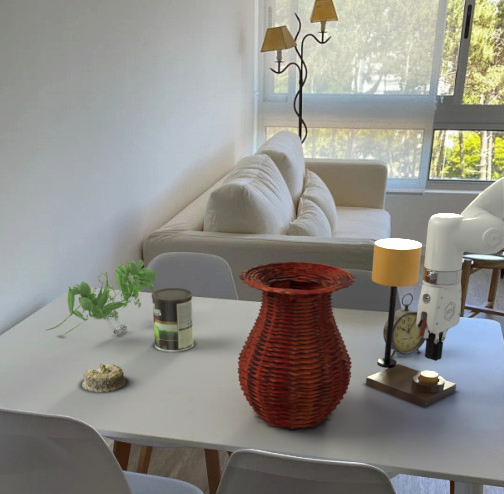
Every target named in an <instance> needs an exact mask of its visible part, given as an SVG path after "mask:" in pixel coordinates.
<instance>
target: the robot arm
mask: <svg viewBox="0 0 504 494" xmlns="http://www.w3.org/2000/svg"><path fill="white" fill-rule="evenodd" d="M503 219H504V176H502V177H501V178H499V179H497V180H496V181H495V182H493V183H492V184H490V185H489V186H487V187H486V188H485V189H484V190H483V191H482V192H480V193H479V194H478V196H476V198H475V199H473V200H472V202H471V203H469V204H468V205H467V206H466V207H465V208H464V210H463V211H462V212H461V213H460V214H457V213H437V214H434V215H432V216H431V217H430V218H429V220H428V223H427V230H426V231H427V233H426V241H425V242H426V243H425V252H424V263H423V272H422V273H423V274H422V286H421V290H420V294H419V299H418V305H417V310H416V312H417V328H418V329H420V333H419V337H421V338H424V339H425V341H424V342H425V348H424V349H425V351H424V357H425V359H429V360H432V361H435V362H437V361H439V360H441V359H442V356H443V348H444V342H445V340H446V336H447V332H448V331H449V330H450V329H452V328H454V327H456V326H458V325H459V323H460V319H461V311H462V310H461V309H462V283H461V276H462V267H463V261H464V260H463V259H464V253H470V254H478V255H493V254H497V253H498V252H501V251H502V250H503V249H504V220H503Z"/></svg>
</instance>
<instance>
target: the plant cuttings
mask: <svg viewBox="0 0 504 494" xmlns="http://www.w3.org/2000/svg"><path fill="white" fill-rule="evenodd" d="M127 264H128V266H127V265H125V264H123V263H120V265H117V267H116V269H115V280H116V284H117V286H118V287H119V289H120V290H119V291H118V292H117V293H116V291H115V288H113V286H112V285H109V279H108V277H109V275H108V272H107V271H105V273H104V272H99V274H98V275H97V279H98V282H99V283H101V285H100V289H99V291H98V294H96V291H97V286H96V287H93V289H92V288H91V286H90V285H89V284H88V283H87V282H85V281H81V282H80V284H75V285H73V284H71V286H72V288H71V287H70V286H68V292H67V307H68V312H69V315H68V316H67V317H66V318H65V319H64V320H63V321H61V322H60V323H59V324H57V325H55V326H53V327H51V328H47V329H45V331H50V330H55V329H57V328H58V327H60V326H61V325H63V324H64V323H66V321H67V320H68V319H69V318H70V317H71V316H73V315H74V316H76V317H77V318H79V319H81V320H83V322H86V321H88V320H89V319H90V318H95V319H99V320H100V319H103V320H106V322H107V324H108V325H109V327H110V328H111V329H112V333H113V335H116V336H118V337H120V336H123V335H124V334H125V332H126V331H127V329H128V325H126V324H125V323H121V322H120V321H119V312H118V311H117V310H118V309H120V308H127V306H128V304H129V303H131V304H132V301H133V305H135V306H137V308H138V309H140V308H141V306H142V302H140V300H141V299H140V298H139V296H140V294H139V292H141V291H142V290H144V289H146V288H147V289H148V290H149V291H153V292H155V291H156V289H155V286H154V285H153V283H154V282H155V281H156V279H157V277H158V274H157V272H156V271H155V270H153V269H151V268H149V267H143V266H144V265H145V263H144V261H143V259H139V260H138V264H137V263H136V262H135V261H134V260H129V261H128V262H127ZM142 267H143V268H142ZM101 275H103V276H105V281H101V279H100V278H99V277H101ZM130 275H131V277H130ZM104 284H105V286H104V289H103V285H104ZM111 290H112V291H113V292H114V296H112V295H111V294H110V291H111ZM119 294H120V300H119V301H116V297H117V295H119ZM76 295H79V297H78V302H79V306H77V308H75V309H74V307H75V300H76V299H75V296H76ZM80 307H81V308H82V312H81V311H80V310H78V309H79V308H80ZM86 311H88V314H87V315H86V317H84V315H83V314H84V312H86ZM111 319H114V321H115V322H116V323H117V325H118V326H116V327H114V326H113V325H112V322H110V320H111ZM83 322H81V323H80V324H78V325H76V326H74V327H72V328H71V329H69V330H68V331H66V332H65V333H63V334H62V335H61V337H63V336H65V335H67V334H68V333H70V332H71V331H73V330H74V329H76V328H77V327H79V326H80V325H82V324H83ZM118 327H119V328H118ZM120 331H122V332H123V333H122V334H120Z"/></svg>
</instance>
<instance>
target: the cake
mask: <svg viewBox="0 0 504 494" xmlns="http://www.w3.org/2000/svg"><path fill="white" fill-rule="evenodd" d="M123 371H124V370H123V368H121V367H120V366H118V365H116V364H112V363H107V364H106V365H105V364H103V363H100V364H99V368H98V369H92V368H91V369H86V370H84V372H83V381H82V382H81V386H82V388H83V389H85V390H88V391H89V392H95V393H104V392H105V393H108V392H114V391H117V390H119V389H121V388H123V387H125V385H126V384H127V380H126V378H125V376H124V372H123Z"/></svg>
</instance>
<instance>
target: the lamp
mask: <svg viewBox="0 0 504 494" xmlns="http://www.w3.org/2000/svg"><path fill="white" fill-rule="evenodd" d="M422 247H423V245H422V243H421V242H419V241H416V240H412V239H406V238H405V239H404V238H383V239H379V240H376V241H374V245H373V257H372V269H371V270H372V271H371V281H372V282H373V283H375V284H378V285H382V286H386V287H390V293H389V301H388V302H389V304H388V313H387V320H388V323H387V334H386V343H385V345H384V357H381V358H379V359H377V360H376V361H377V362H376V364H377V366H378V367H380V368H383V369H387V368H393V367H395V366H396V365H397V364H398V363H397V360H396V359H394V358H391V354H392V349H391V348H392V337H393V327H394V316H395V312H396V306H397V305H396V304H397V296H398V287H401V288H402V287H411V286H414V285H417V284H418V282H419V275H420V265H421V259H422V249H423V248H422Z"/></svg>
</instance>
